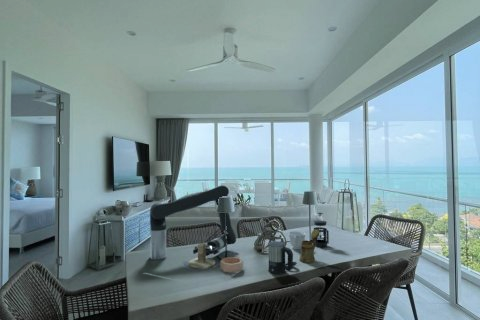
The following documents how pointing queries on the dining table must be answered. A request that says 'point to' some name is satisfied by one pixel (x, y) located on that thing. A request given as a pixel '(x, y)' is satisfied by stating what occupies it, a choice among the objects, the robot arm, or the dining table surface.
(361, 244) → the dining table surface
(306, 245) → the wooden mug
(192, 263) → the oak lid
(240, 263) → the terracotta bowl
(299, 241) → the teacup
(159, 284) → the dining table surface
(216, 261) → the grey flat slab
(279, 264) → the milk frother
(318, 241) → the french press
